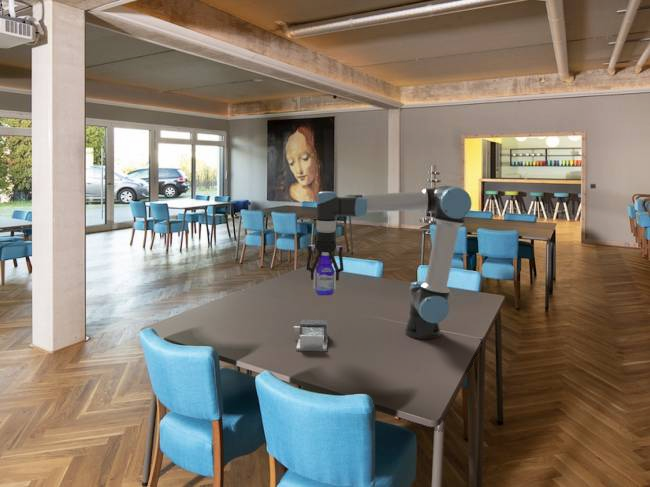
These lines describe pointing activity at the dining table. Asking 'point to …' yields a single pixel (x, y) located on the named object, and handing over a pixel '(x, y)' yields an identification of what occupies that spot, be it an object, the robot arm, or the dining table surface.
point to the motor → (312, 324)
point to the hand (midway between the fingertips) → (324, 287)
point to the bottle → (325, 275)
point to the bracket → (312, 339)
